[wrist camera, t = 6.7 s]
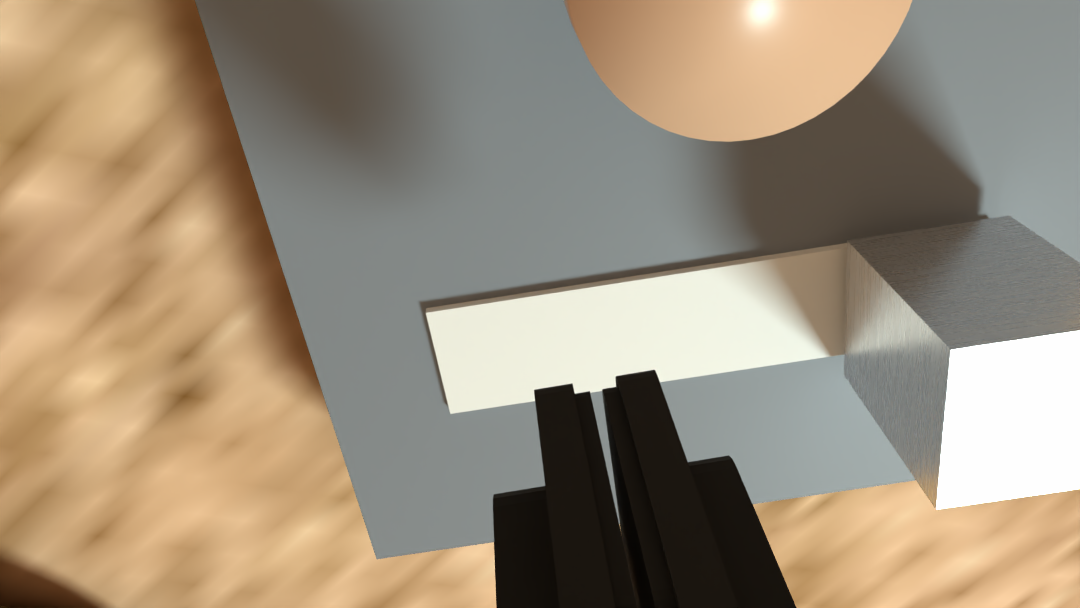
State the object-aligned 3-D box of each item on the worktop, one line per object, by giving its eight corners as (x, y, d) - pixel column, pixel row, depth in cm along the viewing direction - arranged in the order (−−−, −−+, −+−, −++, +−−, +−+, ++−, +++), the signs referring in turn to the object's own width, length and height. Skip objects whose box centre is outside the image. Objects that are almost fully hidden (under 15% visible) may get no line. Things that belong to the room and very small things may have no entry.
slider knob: (846, 240, 15) (950, 350, 12) (1009, 215, 15) (1162, 318, 12) (843, 375, 17) (936, 509, 13) (992, 352, 17) (1125, 481, 13)
